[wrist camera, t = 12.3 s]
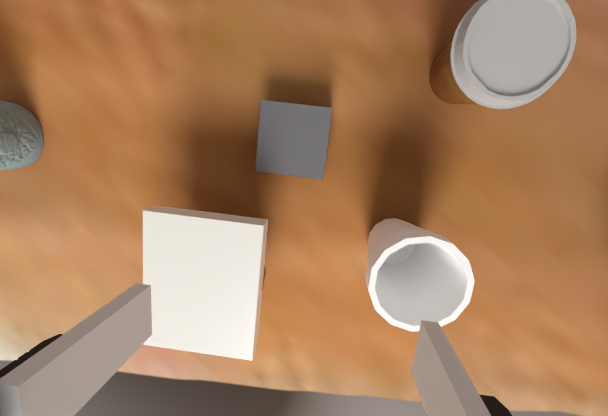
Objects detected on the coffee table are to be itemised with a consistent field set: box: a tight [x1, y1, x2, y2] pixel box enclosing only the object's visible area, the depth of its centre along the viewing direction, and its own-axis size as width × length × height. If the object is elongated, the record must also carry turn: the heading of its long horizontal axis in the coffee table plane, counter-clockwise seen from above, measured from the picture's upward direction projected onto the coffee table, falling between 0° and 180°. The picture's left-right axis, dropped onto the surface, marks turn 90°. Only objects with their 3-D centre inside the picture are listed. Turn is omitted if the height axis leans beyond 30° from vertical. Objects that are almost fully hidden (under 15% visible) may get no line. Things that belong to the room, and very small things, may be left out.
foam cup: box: [365, 218, 475, 332], centre depth 35 cm, size 10×9×13 cm
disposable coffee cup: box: [430, 0, 576, 109], centre depth 31 cm, size 10×10×12 cm
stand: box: [255, 100, 332, 179], centre depth 37 cm, size 8×8×4 cm
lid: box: [143, 205, 268, 360], centre depth 33 cm, size 12×15×2 cm
